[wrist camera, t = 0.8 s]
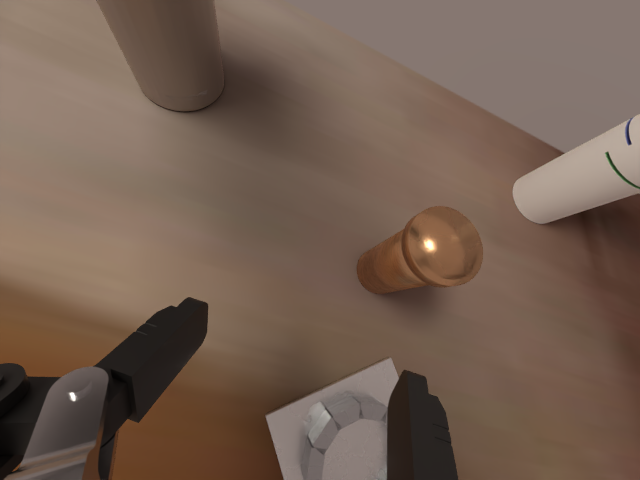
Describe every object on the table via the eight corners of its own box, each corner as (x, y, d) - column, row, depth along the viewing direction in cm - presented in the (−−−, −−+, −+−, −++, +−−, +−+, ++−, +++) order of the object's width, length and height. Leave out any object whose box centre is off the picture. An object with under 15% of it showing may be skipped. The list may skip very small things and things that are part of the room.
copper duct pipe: (345, 254, 31) (396, 217, 20) (390, 239, 33) (461, 198, 21) (365, 305, 30) (430, 297, 19) (410, 287, 32) (495, 270, 20)
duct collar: (265, 413, 25) (266, 425, 23) (388, 356, 29) (402, 360, 26) (313, 579, 23) (321, 615, 20) (440, 494, 27) (462, 514, 24)
